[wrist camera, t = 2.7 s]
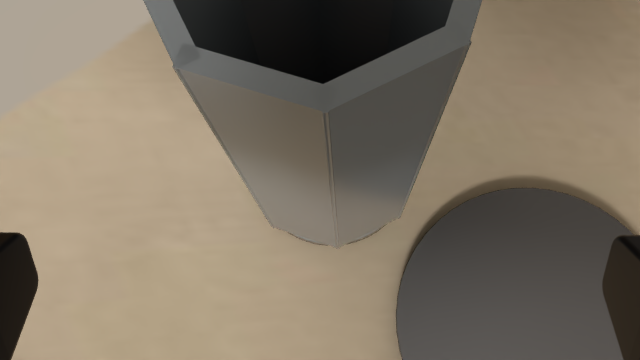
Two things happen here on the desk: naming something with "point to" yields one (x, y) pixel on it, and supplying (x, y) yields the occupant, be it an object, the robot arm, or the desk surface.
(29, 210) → the desk surface
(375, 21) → the pen cup
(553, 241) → the coaster
